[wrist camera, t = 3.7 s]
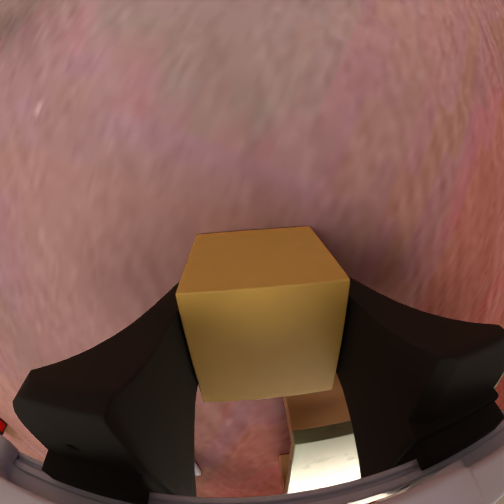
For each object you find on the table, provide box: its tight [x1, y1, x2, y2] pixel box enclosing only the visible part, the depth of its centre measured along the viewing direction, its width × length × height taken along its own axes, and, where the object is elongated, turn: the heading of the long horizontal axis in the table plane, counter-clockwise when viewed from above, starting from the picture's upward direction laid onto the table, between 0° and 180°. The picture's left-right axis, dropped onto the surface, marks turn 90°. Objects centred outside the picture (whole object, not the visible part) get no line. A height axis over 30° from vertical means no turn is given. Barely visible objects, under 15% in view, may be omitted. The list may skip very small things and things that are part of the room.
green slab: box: [279, 373, 504, 494], centre depth 14 cm, size 14×12×4 cm
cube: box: [175, 226, 350, 402], centre depth 10 cm, size 4×4×4 cm
